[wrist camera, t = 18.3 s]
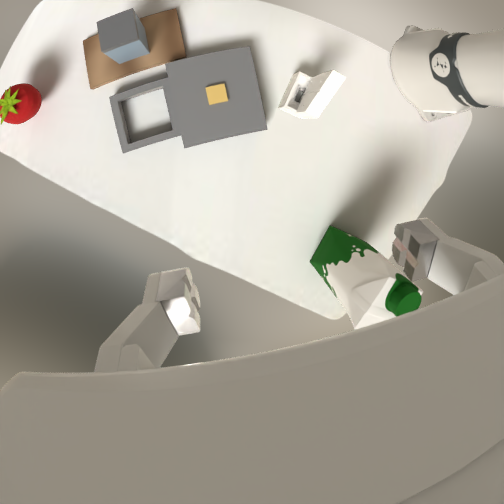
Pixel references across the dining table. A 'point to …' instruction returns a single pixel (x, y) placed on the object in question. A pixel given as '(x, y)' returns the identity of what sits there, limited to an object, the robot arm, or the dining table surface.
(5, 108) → the strawberry
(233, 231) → the dining table surface
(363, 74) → the dining table surface
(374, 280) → the milk carton
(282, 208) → the dining table surface
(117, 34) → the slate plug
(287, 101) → the white slotted stand
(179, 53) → the walnut pad
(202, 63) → the grey socket base
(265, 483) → the robot arm
